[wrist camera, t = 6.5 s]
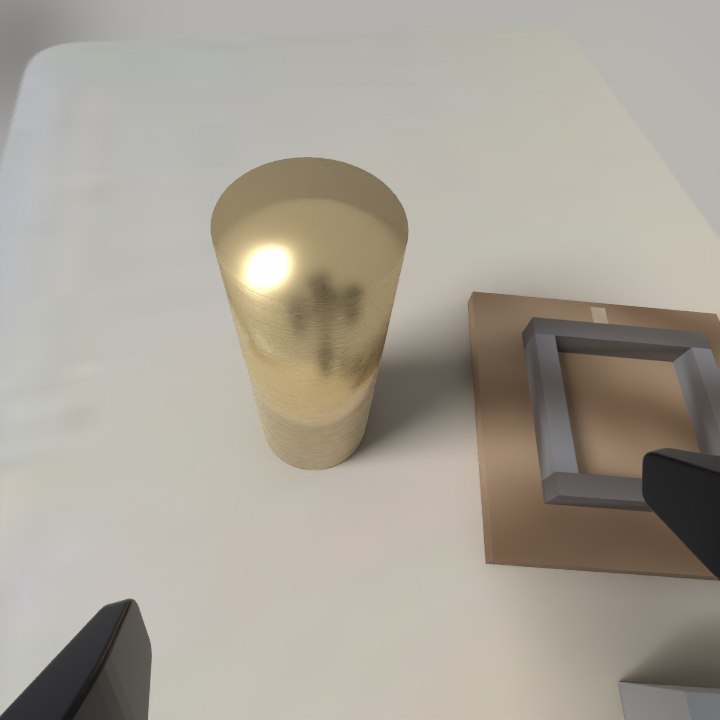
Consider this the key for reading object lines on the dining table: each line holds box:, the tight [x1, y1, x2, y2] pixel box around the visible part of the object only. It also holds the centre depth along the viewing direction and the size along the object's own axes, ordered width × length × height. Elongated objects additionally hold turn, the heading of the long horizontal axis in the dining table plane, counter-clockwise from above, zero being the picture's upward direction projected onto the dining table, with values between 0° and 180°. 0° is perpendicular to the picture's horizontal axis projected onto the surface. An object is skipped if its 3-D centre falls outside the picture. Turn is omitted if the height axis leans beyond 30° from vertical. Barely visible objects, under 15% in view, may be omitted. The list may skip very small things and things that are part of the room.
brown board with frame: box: [468, 292, 720, 580], centre depth 24 cm, size 14×14×2 cm
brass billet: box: [211, 157, 408, 470], centre depth 18 cm, size 5×5×13 cm
